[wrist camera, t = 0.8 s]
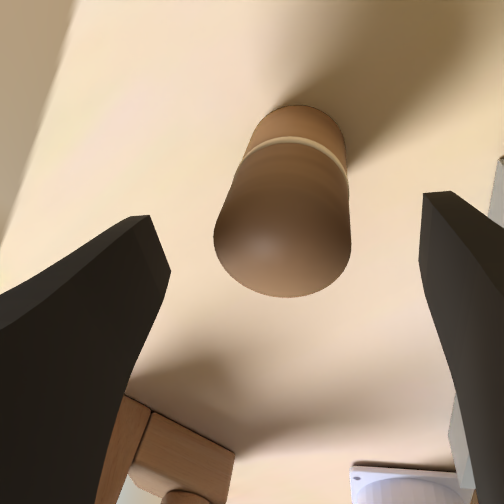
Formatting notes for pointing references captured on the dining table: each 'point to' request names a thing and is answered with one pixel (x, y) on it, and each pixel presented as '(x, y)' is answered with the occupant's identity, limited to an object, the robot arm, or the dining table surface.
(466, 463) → the board
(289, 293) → the peg
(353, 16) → the dining table surface
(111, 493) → the wooden block
